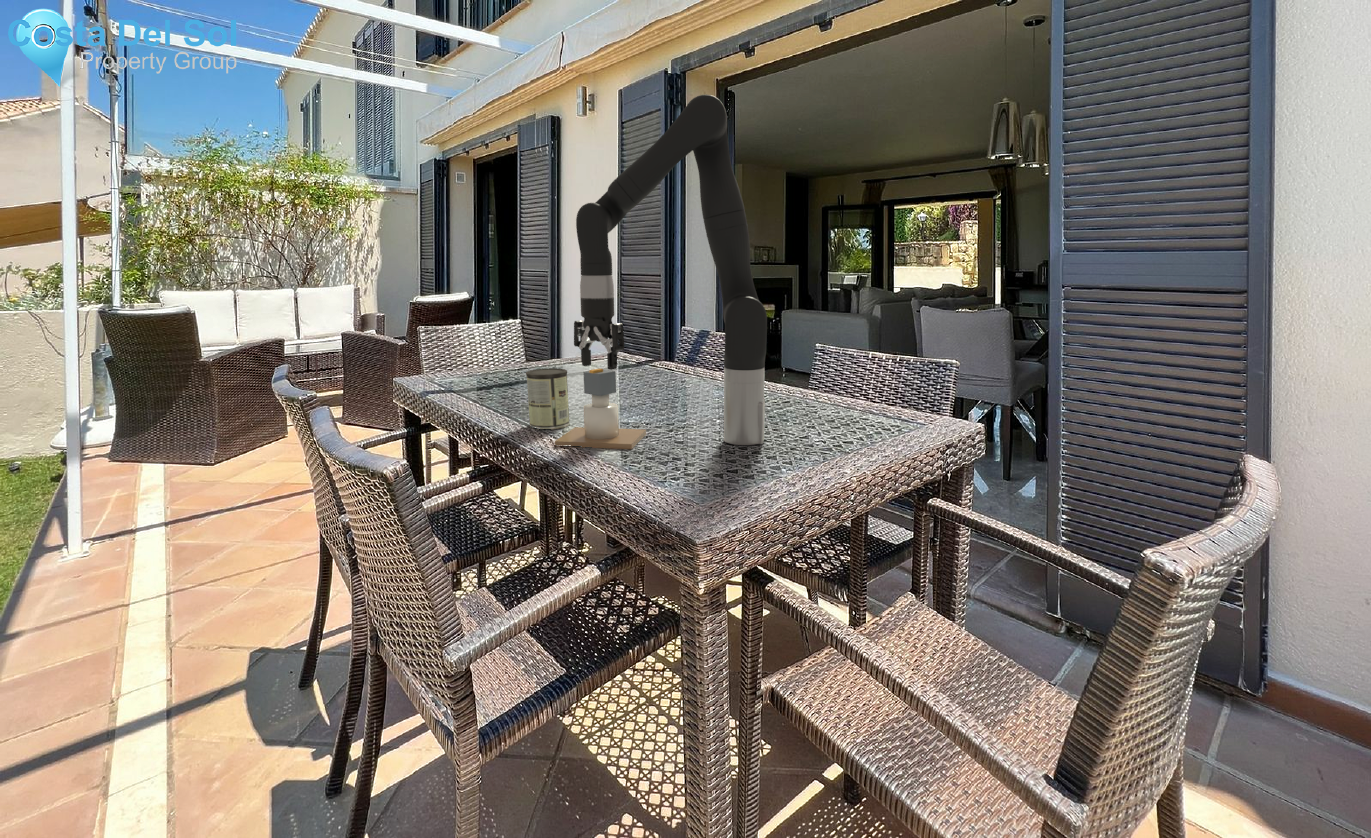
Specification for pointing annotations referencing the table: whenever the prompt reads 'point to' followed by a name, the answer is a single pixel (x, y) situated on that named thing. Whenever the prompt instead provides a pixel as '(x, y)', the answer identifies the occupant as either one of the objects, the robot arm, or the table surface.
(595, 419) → the board with white bottle
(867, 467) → the table surface
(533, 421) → the coffee can
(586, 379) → the grey cube with tab
